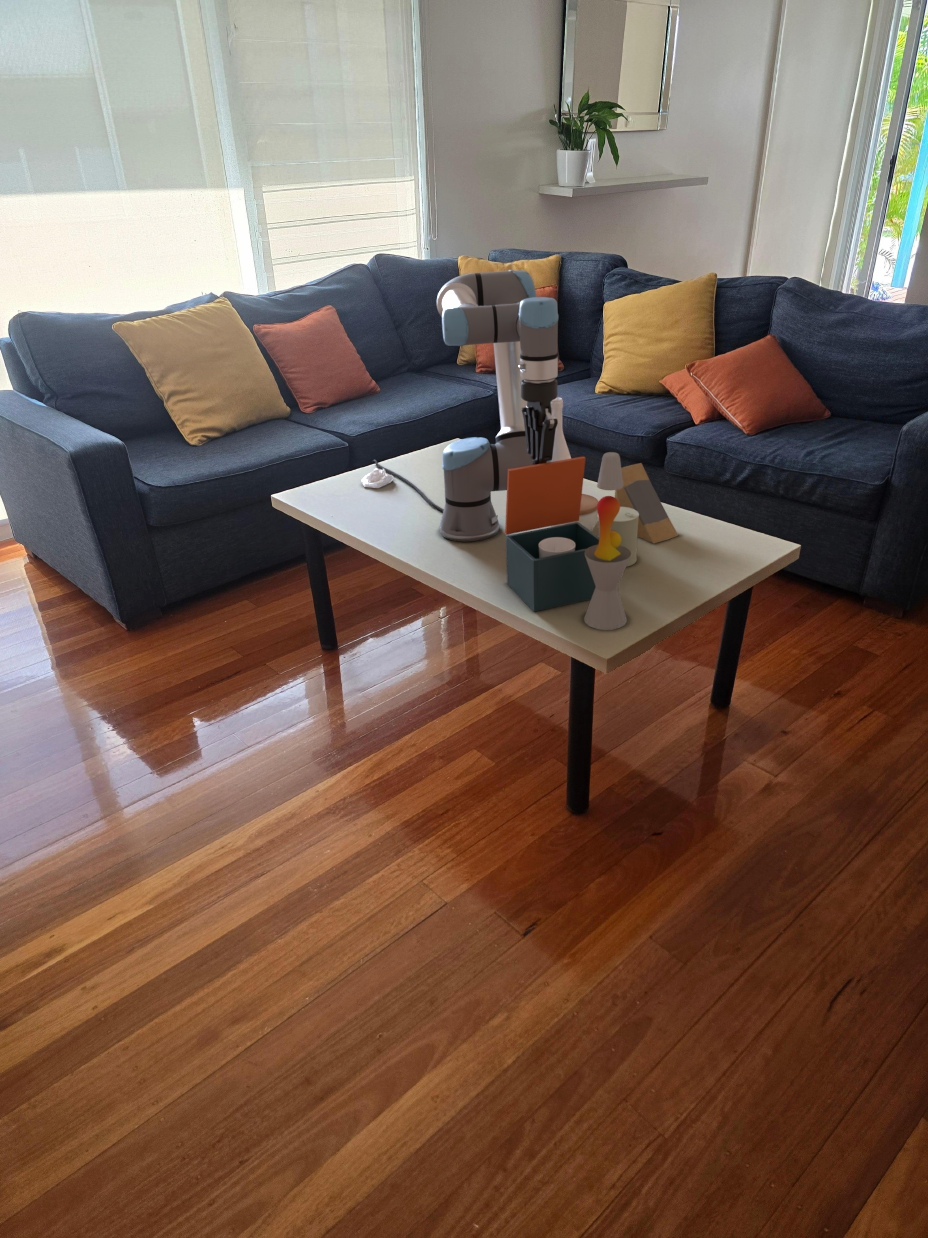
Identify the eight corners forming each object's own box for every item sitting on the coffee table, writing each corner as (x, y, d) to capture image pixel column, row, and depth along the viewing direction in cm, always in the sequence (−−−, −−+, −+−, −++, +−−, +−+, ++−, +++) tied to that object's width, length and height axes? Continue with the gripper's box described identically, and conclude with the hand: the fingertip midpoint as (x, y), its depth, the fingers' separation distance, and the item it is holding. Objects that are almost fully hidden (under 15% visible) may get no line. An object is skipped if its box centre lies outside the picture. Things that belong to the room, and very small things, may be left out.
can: (627, 570, 190) (630, 521, 184) (590, 563, 195) (591, 515, 189) (642, 555, 197) (645, 507, 191) (606, 548, 201) (608, 501, 195)
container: (608, 595, 180) (610, 545, 174) (534, 612, 175) (533, 561, 169) (577, 569, 192) (578, 521, 186) (507, 584, 187) (505, 535, 181)
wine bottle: (567, 517, 220) (569, 404, 205) (533, 514, 223) (532, 402, 208) (577, 505, 227) (579, 394, 213) (543, 501, 230) (543, 393, 216)
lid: (585, 457, 176) (583, 456, 177) (509, 470, 172) (507, 469, 172) (579, 520, 186) (577, 518, 186) (506, 534, 181) (504, 532, 182)
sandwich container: (653, 544, 202) (657, 485, 195) (612, 525, 214) (614, 468, 207) (679, 535, 206) (684, 477, 199) (638, 517, 218) (641, 461, 210)
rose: (393, 473, 245) (360, 475, 244) (394, 487, 247) (361, 490, 246) (392, 462, 253) (360, 465, 253) (393, 476, 256) (361, 479, 255)
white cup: (551, 575, 188) (551, 534, 183) (581, 583, 184) (582, 541, 179) (531, 588, 183) (531, 546, 178) (562, 597, 178) (562, 554, 174)
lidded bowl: (562, 550, 202) (563, 507, 196) (538, 532, 212) (538, 491, 207) (607, 539, 206) (609, 497, 201) (581, 522, 216) (582, 482, 211)
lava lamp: (611, 634, 165) (618, 464, 148) (574, 621, 171) (576, 456, 154) (636, 617, 171) (645, 451, 154) (599, 605, 176) (604, 443, 159)
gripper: (509, 375, 174) (512, 483, 185) (535, 387, 163) (536, 501, 174) (542, 370, 176) (542, 477, 187) (569, 382, 165) (568, 495, 176)
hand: (539, 489), depth 181 cm, fingers closed
